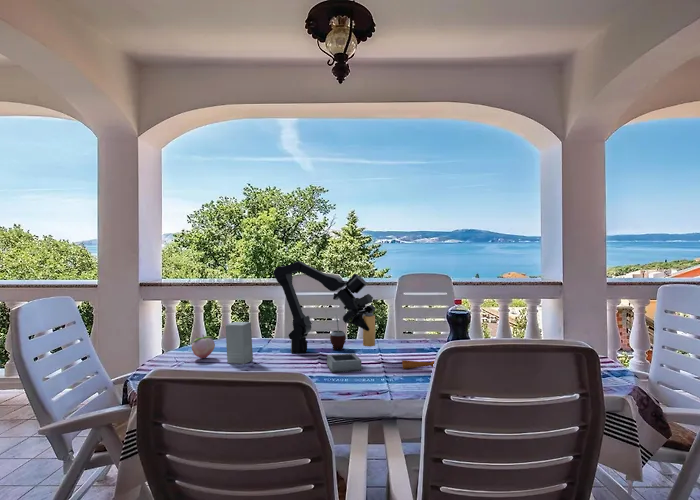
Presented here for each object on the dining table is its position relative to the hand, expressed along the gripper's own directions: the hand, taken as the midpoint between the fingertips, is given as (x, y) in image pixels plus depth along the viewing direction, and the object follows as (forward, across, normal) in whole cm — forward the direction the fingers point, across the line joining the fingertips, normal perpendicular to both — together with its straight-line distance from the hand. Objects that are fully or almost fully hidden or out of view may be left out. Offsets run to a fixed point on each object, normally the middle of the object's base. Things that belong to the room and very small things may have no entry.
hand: (371, 329), depth 171 cm
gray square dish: (+7, -17, +11) cm, 21 cm away
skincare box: (-22, -32, +40) cm, 55 cm away
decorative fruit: (-34, -36, +52) cm, 71 cm away
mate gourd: (-7, +8, +25) cm, 27 cm away
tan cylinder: (+4, 0, +6) cm, 7 cm away
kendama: (+27, -2, -9) cm, 29 cm away
